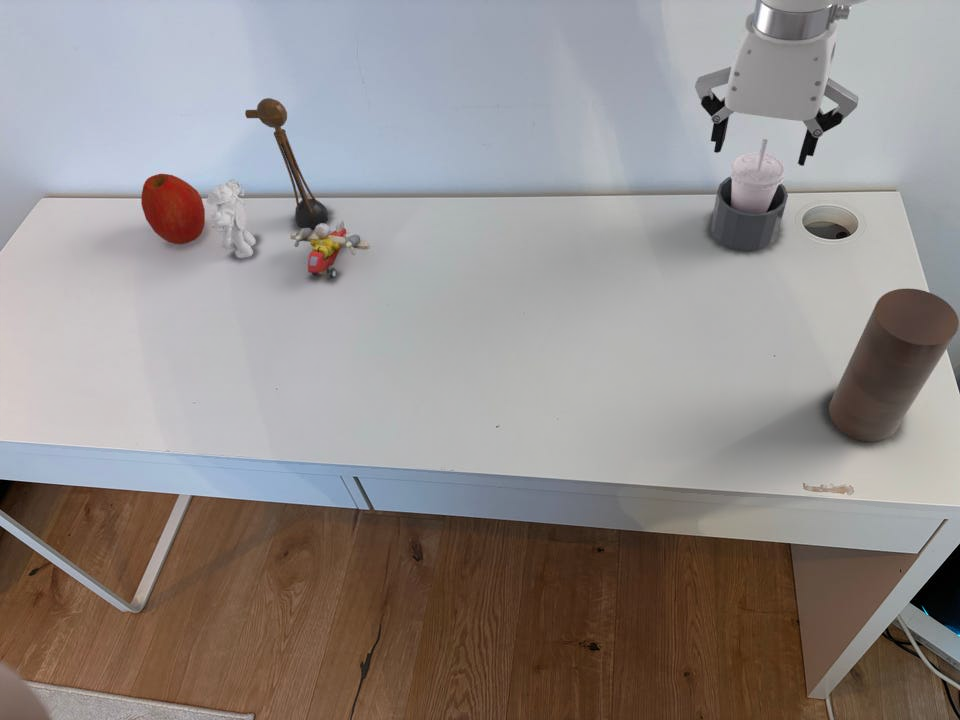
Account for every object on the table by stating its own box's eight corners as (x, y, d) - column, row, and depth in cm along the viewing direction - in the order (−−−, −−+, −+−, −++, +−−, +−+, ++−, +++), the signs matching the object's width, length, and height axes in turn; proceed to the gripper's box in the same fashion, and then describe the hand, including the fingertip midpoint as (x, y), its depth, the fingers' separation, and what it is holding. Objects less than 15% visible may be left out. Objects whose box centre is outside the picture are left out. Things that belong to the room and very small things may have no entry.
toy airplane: (316, 289, 99) (301, 255, 94) (295, 251, 104) (280, 216, 99) (377, 263, 101) (366, 228, 96) (353, 226, 106) (342, 191, 101)
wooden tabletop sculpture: (286, 229, 107) (235, 110, 92) (296, 208, 110) (248, 89, 95) (323, 230, 106) (278, 109, 91) (332, 209, 109) (290, 88, 93)
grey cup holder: (782, 214, 98) (792, 178, 93) (771, 256, 93) (781, 221, 89) (718, 203, 100) (725, 168, 96) (705, 244, 96) (711, 209, 91)
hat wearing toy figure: (252, 269, 103) (219, 202, 94) (226, 270, 103) (190, 204, 94) (266, 226, 108) (236, 159, 99) (241, 227, 109) (209, 161, 99)
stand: (900, 398, 78) (960, 297, 66) (895, 449, 75) (958, 353, 62) (832, 382, 81) (878, 281, 68) (824, 431, 77) (871, 334, 64)
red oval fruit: (213, 210, 112) (183, 151, 104) (215, 244, 107) (183, 186, 99) (161, 223, 112) (126, 166, 103) (159, 258, 107) (123, 201, 98)
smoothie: (718, 242, 95) (736, 153, 84) (719, 210, 99) (736, 120, 88) (770, 245, 94) (794, 155, 83) (769, 212, 98) (793, 122, 87)
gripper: (889, 1, 73) (840, 144, 87) (714, -13, 79) (694, 123, 92) (882, 40, 69) (832, 183, 83) (698, 22, 75) (680, 159, 88)
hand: (760, 152), depth 87 cm, fingers open, 9 cm apart
